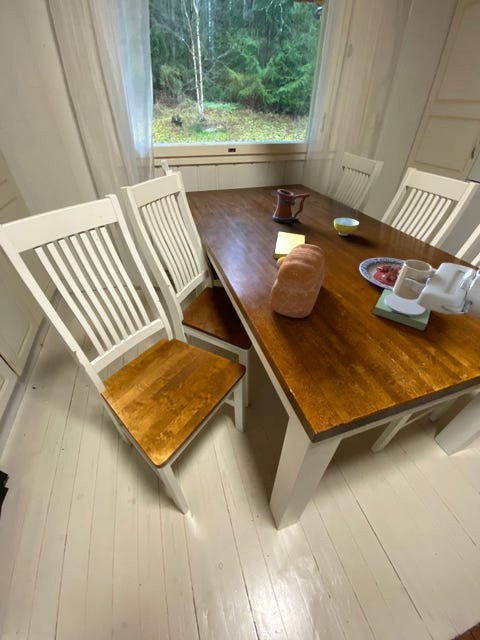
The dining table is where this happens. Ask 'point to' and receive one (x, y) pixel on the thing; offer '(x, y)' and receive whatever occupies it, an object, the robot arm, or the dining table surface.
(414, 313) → the scale
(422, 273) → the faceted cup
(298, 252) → the bread
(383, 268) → the ceramic plate
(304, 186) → the dining table surface
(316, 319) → the dining table surface
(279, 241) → the pale yellow flat slab
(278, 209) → the mug
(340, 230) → the bowl
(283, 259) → the bread roll
